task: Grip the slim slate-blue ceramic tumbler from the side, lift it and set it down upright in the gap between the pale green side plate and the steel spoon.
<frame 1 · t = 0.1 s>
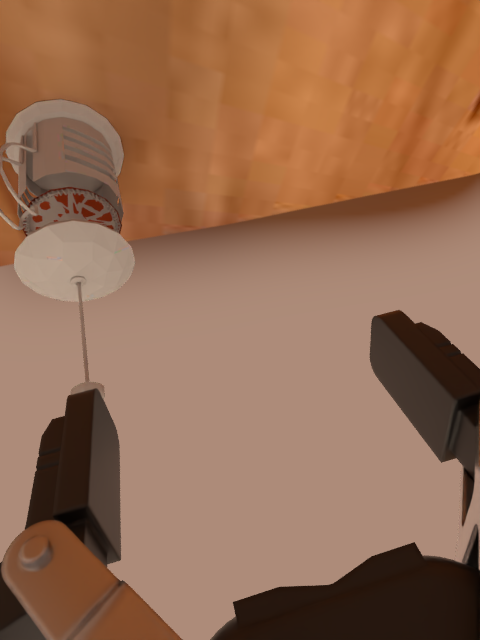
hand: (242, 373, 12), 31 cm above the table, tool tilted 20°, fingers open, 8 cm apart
french press: (58, 146, 38), on the table
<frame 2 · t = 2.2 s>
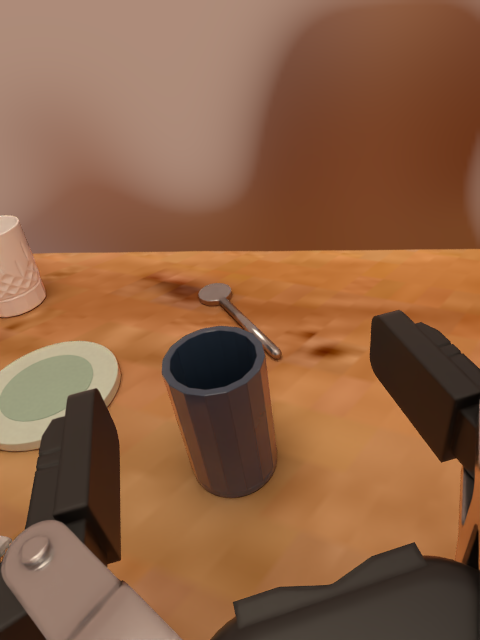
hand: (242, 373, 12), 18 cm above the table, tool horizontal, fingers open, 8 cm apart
tumbler: (234, 459, 32), on the table
white cup: (20, 303, 55), on the table
spoon: (235, 316, 47), on the table
side plate: (51, 393, 40), on the table
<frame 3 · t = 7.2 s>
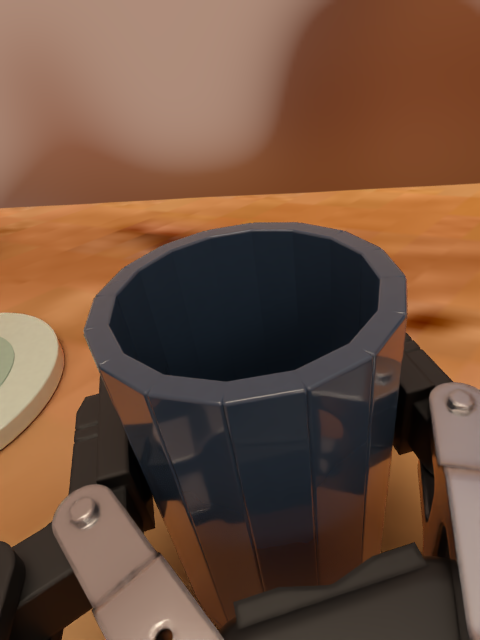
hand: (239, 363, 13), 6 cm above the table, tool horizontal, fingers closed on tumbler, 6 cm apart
tumbler: (280, 542, 14), on the table, touching gripper
when the fingers open (6 cm above the table, at t = 15.6 s): tumbler stays where it is, on the table.
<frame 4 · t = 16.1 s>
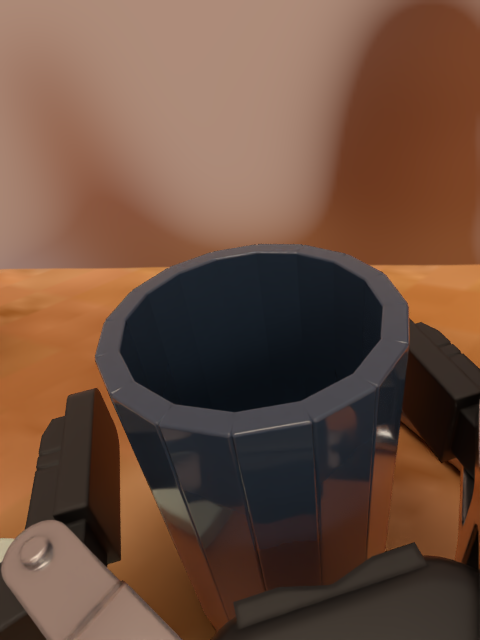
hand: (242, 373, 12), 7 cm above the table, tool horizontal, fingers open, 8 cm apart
tumbler: (284, 553, 15), on the table
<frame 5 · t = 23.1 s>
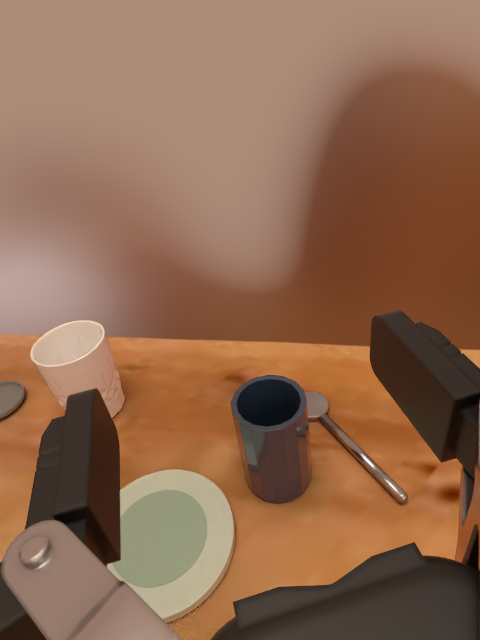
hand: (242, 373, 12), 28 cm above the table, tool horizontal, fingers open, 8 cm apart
tumbler: (278, 473, 42), on the table
white cup: (98, 406, 53), on the table
spoon: (339, 437, 44), on the table
side plate: (161, 540, 38), on the table
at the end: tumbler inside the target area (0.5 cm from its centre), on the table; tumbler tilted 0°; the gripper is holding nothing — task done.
